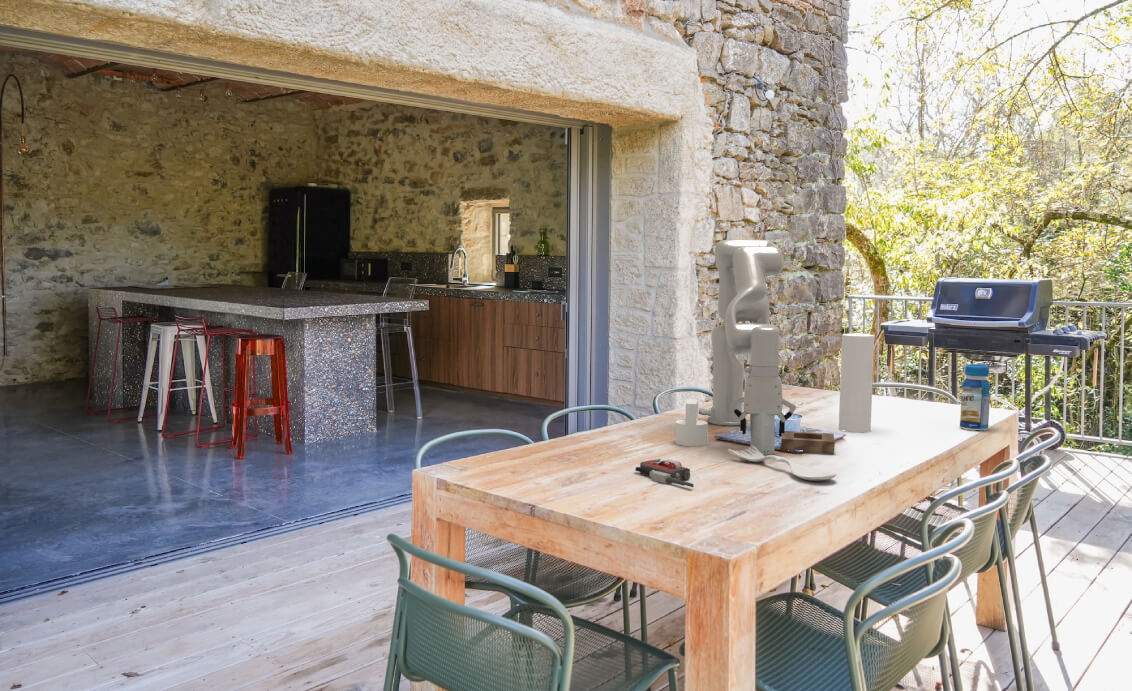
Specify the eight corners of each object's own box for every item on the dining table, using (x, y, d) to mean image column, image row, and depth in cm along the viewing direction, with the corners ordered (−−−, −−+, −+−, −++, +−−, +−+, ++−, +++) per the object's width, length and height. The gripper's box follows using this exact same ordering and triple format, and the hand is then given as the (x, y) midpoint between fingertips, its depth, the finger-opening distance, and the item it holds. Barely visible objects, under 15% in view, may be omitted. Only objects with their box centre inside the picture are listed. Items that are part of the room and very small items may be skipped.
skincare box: (775, 454, 238) (776, 409, 237) (760, 455, 236) (762, 410, 235) (762, 449, 244) (763, 406, 243) (748, 450, 242) (749, 407, 241)
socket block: (780, 451, 242) (781, 438, 241) (782, 442, 253) (782, 430, 253) (834, 454, 238) (834, 441, 238) (833, 445, 250) (833, 433, 249)
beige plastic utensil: (752, 456, 236) (752, 444, 236) (844, 483, 209) (845, 469, 208) (726, 460, 232) (726, 447, 231) (816, 488, 204) (817, 473, 204)
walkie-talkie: (628, 475, 215) (689, 492, 200) (628, 457, 214) (690, 473, 199) (653, 470, 221) (715, 486, 205) (654, 452, 220) (715, 467, 205)
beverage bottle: (993, 431, 272) (997, 367, 270) (966, 431, 272) (969, 367, 270) (981, 426, 281) (984, 364, 279) (954, 426, 281) (957, 363, 279)
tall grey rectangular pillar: (874, 432, 269) (878, 334, 266) (843, 432, 269) (847, 334, 266) (864, 427, 278) (868, 332, 275) (834, 426, 278) (838, 331, 275)
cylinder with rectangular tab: (676, 439, 257) (677, 398, 256) (707, 440, 256) (708, 399, 254) (674, 445, 249) (674, 403, 247) (706, 446, 247) (707, 404, 246)
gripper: (730, 372, 237) (728, 435, 238) (797, 375, 232) (794, 439, 234) (732, 369, 244) (731, 430, 246) (797, 371, 239) (795, 434, 241)
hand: (762, 434), depth 240 cm, fingers open, 9 cm apart
